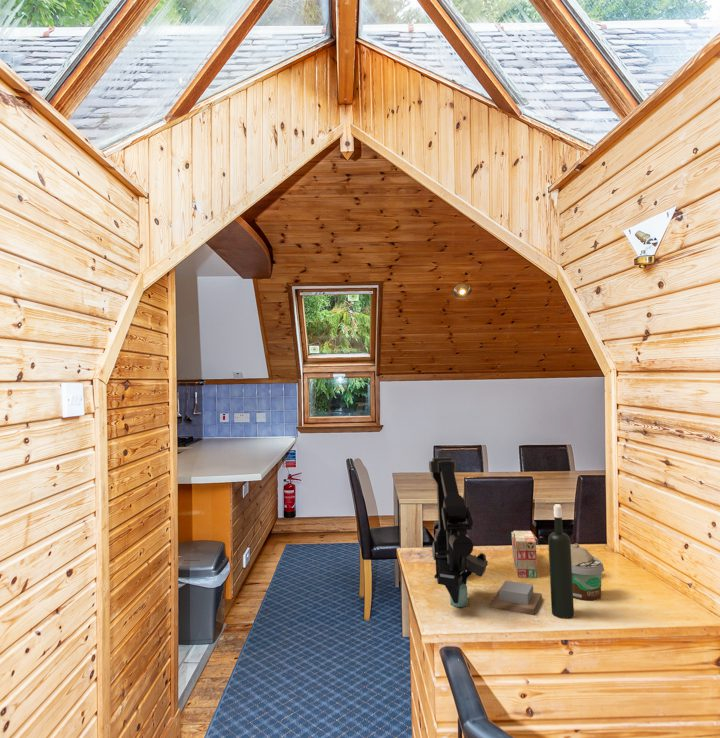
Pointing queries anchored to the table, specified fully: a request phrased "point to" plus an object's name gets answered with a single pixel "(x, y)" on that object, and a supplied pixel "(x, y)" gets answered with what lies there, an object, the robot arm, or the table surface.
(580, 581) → the food container
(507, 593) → the grey square block
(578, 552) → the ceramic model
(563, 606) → the wine bottle
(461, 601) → the teal round block
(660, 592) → the table surface
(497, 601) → the tower base slab
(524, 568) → the stack of blocks
